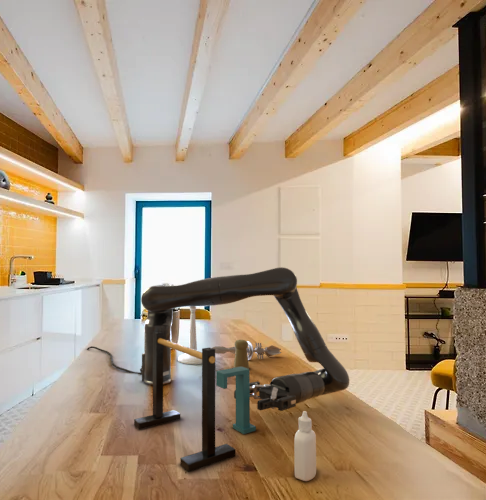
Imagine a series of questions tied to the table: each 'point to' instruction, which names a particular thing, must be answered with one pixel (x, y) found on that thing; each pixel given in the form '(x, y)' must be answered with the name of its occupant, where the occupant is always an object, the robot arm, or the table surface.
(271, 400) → the robot arm
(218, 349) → the ornate silver scepter
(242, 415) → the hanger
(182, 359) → the candlestick
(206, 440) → the rack
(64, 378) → the table surface
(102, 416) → the table surface
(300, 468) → the eye dropper bottle
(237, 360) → the cork
